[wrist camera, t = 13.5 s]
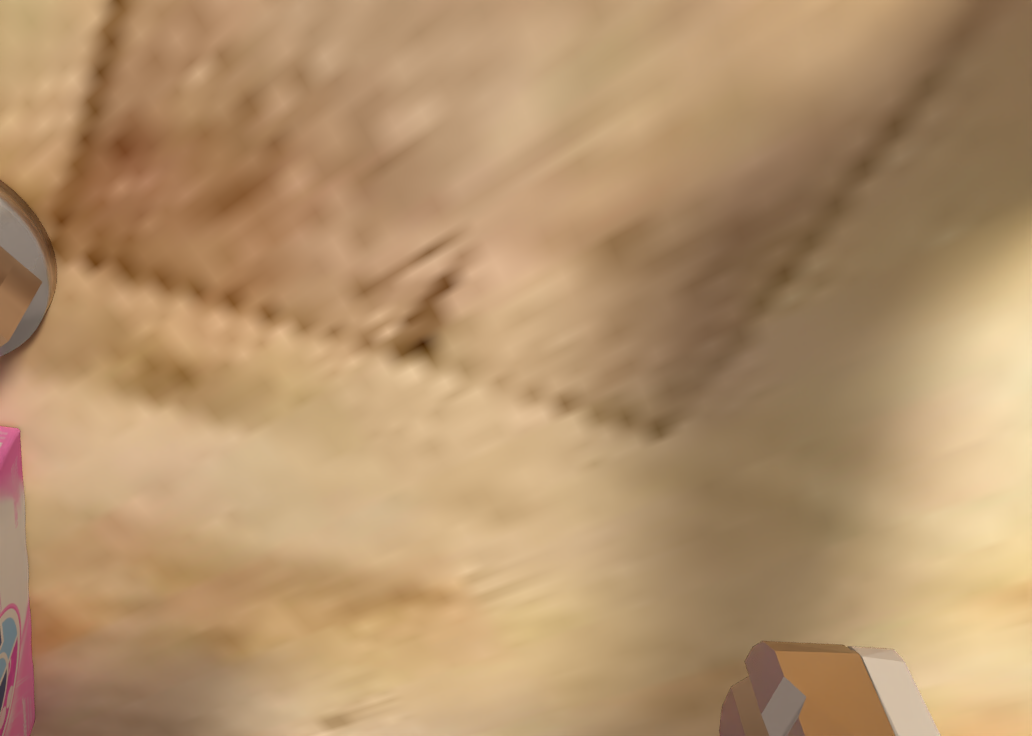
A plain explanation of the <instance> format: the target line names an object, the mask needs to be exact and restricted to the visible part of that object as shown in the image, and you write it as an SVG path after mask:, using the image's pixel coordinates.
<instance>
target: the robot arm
mask: <svg viewBox="0 0 1032 736" xmlns="http://www.w3.org/2000/svg"><path fill="white" fill-rule="evenodd" d="M745 664H746V667H747V671H748V674H749V676H748V677H746V678H745V679H743V680H742V681H740V682H738V683H737V684H735V685H733V686H732V687H731V688H730V690H729V692H728V694H727V697H726V699H725V701H724V703H723V705H722V711H721V720H720V729H719V732H720V736H941V735H940V733H939V731H938V729H937V727H936V725H935V723H934V720H933V718H932V716H931V714H930V712H929V710H928V708H927V706H926V704H925V702H924V700H923V698H922V696H921V694H920V692H919V690H918V687H917V685H916V683H915V681H914V679H913V677H912V675H911V673H910V671H909V669H908V667H907V665H906V663H905V661H904V659H903V658H902V657H901V656H900V655H899V654H898V653H897V652H896V651H895V650H894V649H887V648H871V647H852V646H849V647H846V646H845V645H838V644H817V643H796V642H775V641H762V642H760V643H758V644H757V645H755V646H753V647H752V649H751V651H750V653H749V655H748V656H747V658H746V660H745Z"/></svg>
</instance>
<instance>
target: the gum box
mask: <svg viewBox="0 0 1032 736" xmlns="http://www.w3.org/2000/svg"><path fill="white" fill-rule="evenodd" d="M28 582H29V571H28V555H27V549H26V532H25V496H24V486H23V476H22V461H21V445H20V430H19V429H18V428H11V427H3V426H0V736H30V734H31V731H32V728H33V725H34V722H35V705H34V673H33V662H32V648H31V614H30V607H29V588H28Z"/></svg>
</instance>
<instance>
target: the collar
mask: <svg viewBox="0 0 1032 736" xmlns="http://www.w3.org/2000/svg"><path fill="white" fill-rule="evenodd" d="M41 284H42V281H41V280H40V279H39V278H37V277H36V276H35V275H34V274H33V273H32V272H30V271H29V270H28V269H27V268H26V267H24V266H23V265H22V264H21V263H20V262H19V261H17V260H16V259H15V258H14V257H13V256H12V255H10V254H9V253H8V252H7V251H6V250H4V249H3V248H2V247H1V246H0V347H1V346H3V345H4V344H5V343H7V342H8V341H9V340H10V338H11V336H12V335H13V333H14V331H15V329H16V328H17V326H18V324H19V322H20V321H21V319H22V317H23V315H24V314H25V312H26V310H27V308H28V307H29V305H30V303H31V301H32V300H33V298H34V296H35V294H36V293H37V291H38V289H39V287H40V285H41Z"/></svg>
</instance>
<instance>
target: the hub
mask: <svg viewBox="0 0 1032 736" xmlns="http://www.w3.org/2000/svg"><path fill="white" fill-rule="evenodd" d="M0 246H1V247H2V248H3V249H4V250H6V251H7V252H8V253H9V254H10V255H12V256H13V257H14V258H15V259H16V260H17V261H19V262H20V263H21V264H22V265H23V266H24V267H26V268H27V269H28V270H29V271H30V272H32V273H33V274H34V275H35V276H36V277H37V278H39V279H40V280H41V281H42V284H41V285H40V287H39V289H38V291H37V293H36V294H35V296H34V298H33V300H32V301H31V303H30V305H29V307H28V308H27V310H26V312H25V314H24V315H23V317H22V319H21V321H20V322H19V324H18V326H17V328H16V329H15V331H14V333H13V335H12V336H11V338H10V340H9V341H8V342H7V343H5V344H4V345H3V346H1V347H0V356H2V355H5V354H7V353H9V352H11V351H12V350H14V349H16V348H17V347H19V346H20V345H21V344H23V343H24V342H25V341H26V340H27V339H28V338H29V337H30V336H31V335H32V334H33V333H34V331H35V330H36V329H37V327H38V325H39V324H40V322H41V320H42V319H43V317H44V315H45V313H46V311H47V309H48V307H49V306H50V304H51V301H52V299H53V296H54V293H55V289H56V283H57V265H56V259H55V254H54V250H53V247H52V244H51V241H50V239H49V237H48V235H47V233H46V231H45V229H44V227H43V225H42V224H41V222H40V221H39V219H38V218H37V216H36V215H35V213H34V212H33V211H32V210H31V208H30V207H29V206H28V205H27V204H26V202H25V201H24V200H23V199H22V198H21V197H20V196H19V195H18V194H17V193H16V192H15V191H14V190H12V189H11V188H10V187H9V186H7V185H6V184H5V183H4V182H2V181H1V180H0Z"/></svg>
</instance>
